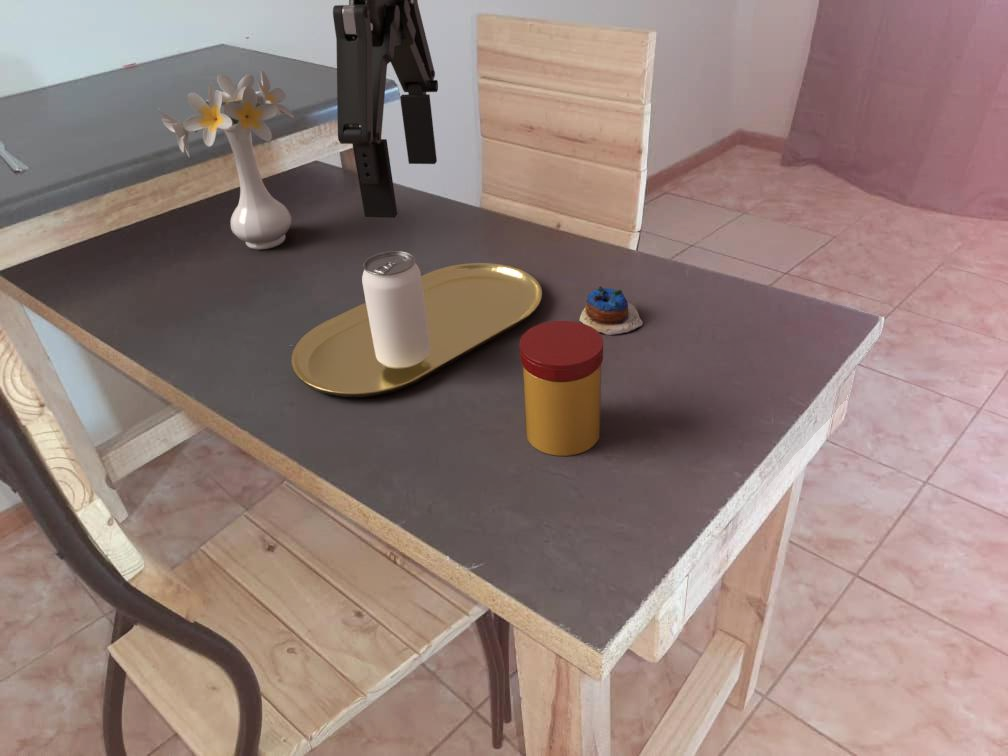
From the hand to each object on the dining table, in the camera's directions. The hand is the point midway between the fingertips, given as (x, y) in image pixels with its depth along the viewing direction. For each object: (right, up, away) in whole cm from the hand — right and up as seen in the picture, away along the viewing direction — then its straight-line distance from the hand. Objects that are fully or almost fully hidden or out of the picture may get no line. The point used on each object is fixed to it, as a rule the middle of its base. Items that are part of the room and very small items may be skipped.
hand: (403, 187), depth 72 cm
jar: (+15, -23, +8) cm, 29 cm away
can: (-2, -15, +19) cm, 24 cm away
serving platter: (-1, -12, +26) cm, 29 cm away
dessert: (+23, -10, +26) cm, 36 cm away
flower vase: (-29, +3, +51) cm, 58 cm away
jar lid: (+15, -15, +2) cm, 21 cm away
